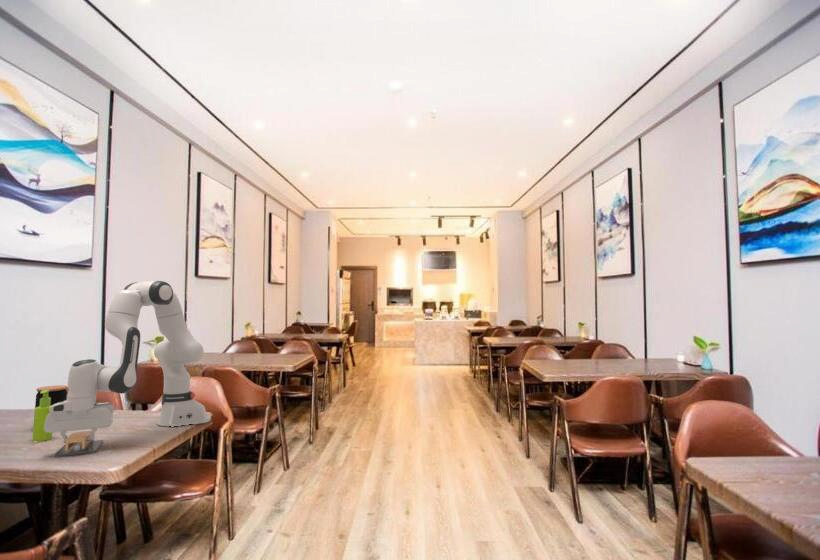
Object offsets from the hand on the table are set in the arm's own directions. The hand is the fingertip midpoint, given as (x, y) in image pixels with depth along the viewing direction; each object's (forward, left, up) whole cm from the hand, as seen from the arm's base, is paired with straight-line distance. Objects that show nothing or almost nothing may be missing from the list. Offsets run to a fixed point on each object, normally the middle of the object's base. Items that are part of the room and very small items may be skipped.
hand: (78, 441), depth 156 cm
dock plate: (0, -4, -4) cm, 5 cm away
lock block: (0, 0, -2) cm, 2 cm away
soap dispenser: (+17, -25, -4) cm, 30 cm away
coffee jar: (+20, -46, -4) cm, 50 cm away
